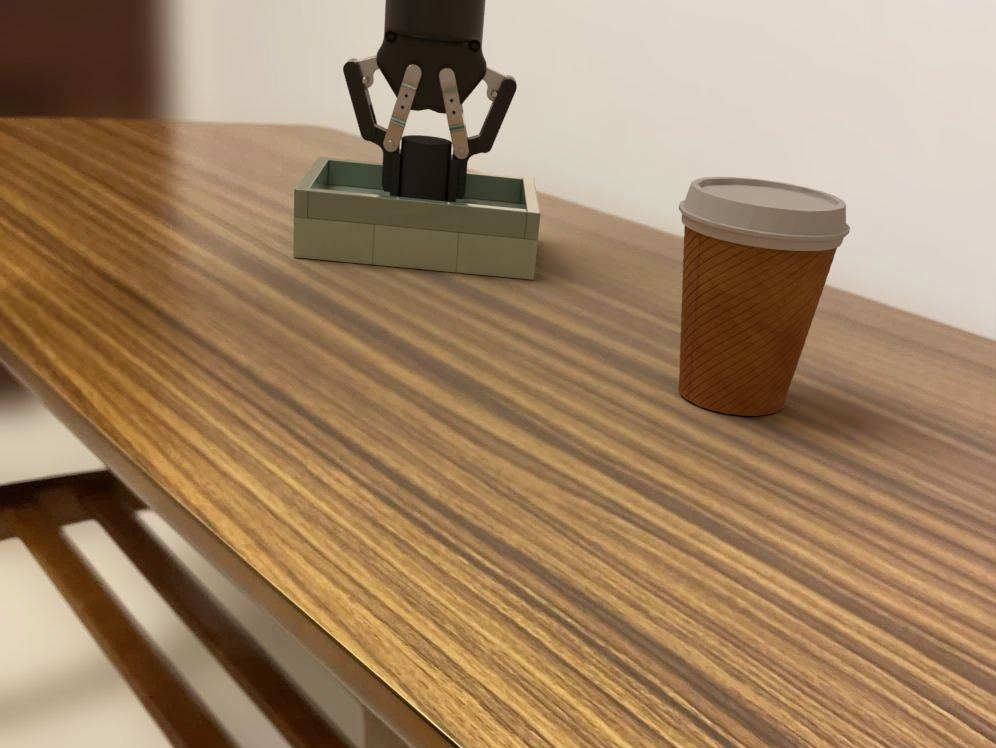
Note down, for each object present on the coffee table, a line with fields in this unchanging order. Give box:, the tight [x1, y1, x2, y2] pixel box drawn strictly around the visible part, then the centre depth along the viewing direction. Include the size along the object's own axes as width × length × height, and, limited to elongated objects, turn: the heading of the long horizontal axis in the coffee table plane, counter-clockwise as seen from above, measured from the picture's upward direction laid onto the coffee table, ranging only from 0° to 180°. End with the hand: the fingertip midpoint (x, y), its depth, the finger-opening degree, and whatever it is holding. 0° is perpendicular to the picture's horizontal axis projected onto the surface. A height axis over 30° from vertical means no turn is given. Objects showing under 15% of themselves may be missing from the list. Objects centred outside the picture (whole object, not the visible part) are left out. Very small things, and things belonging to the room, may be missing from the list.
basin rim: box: [293, 156, 541, 240], centre depth 97 cm, size 18×14×2 cm
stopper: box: [399, 134, 453, 202], centre depth 99 cm, size 4×4×6 cm
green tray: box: [292, 184, 539, 281], centre depth 98 cm, size 18×15×3 cm
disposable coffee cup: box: [678, 176, 851, 417], centre depth 71 cm, size 10×10×12 cm
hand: (423, 200), depth 100 cm, fingers closed on stopper, 4 cm apart
